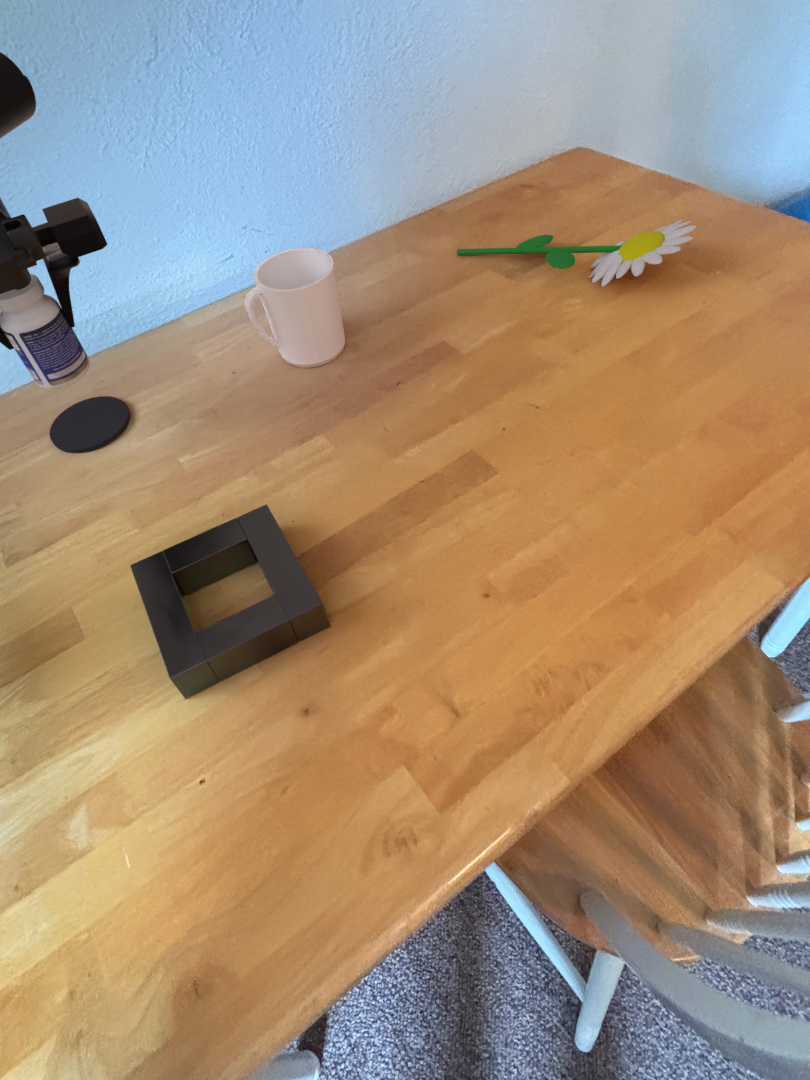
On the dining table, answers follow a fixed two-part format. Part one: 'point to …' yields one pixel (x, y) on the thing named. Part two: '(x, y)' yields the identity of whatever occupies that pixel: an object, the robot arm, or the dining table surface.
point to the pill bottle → (42, 336)
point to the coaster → (90, 424)
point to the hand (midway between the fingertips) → (42, 336)
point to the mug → (299, 306)
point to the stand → (243, 634)
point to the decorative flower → (605, 251)
